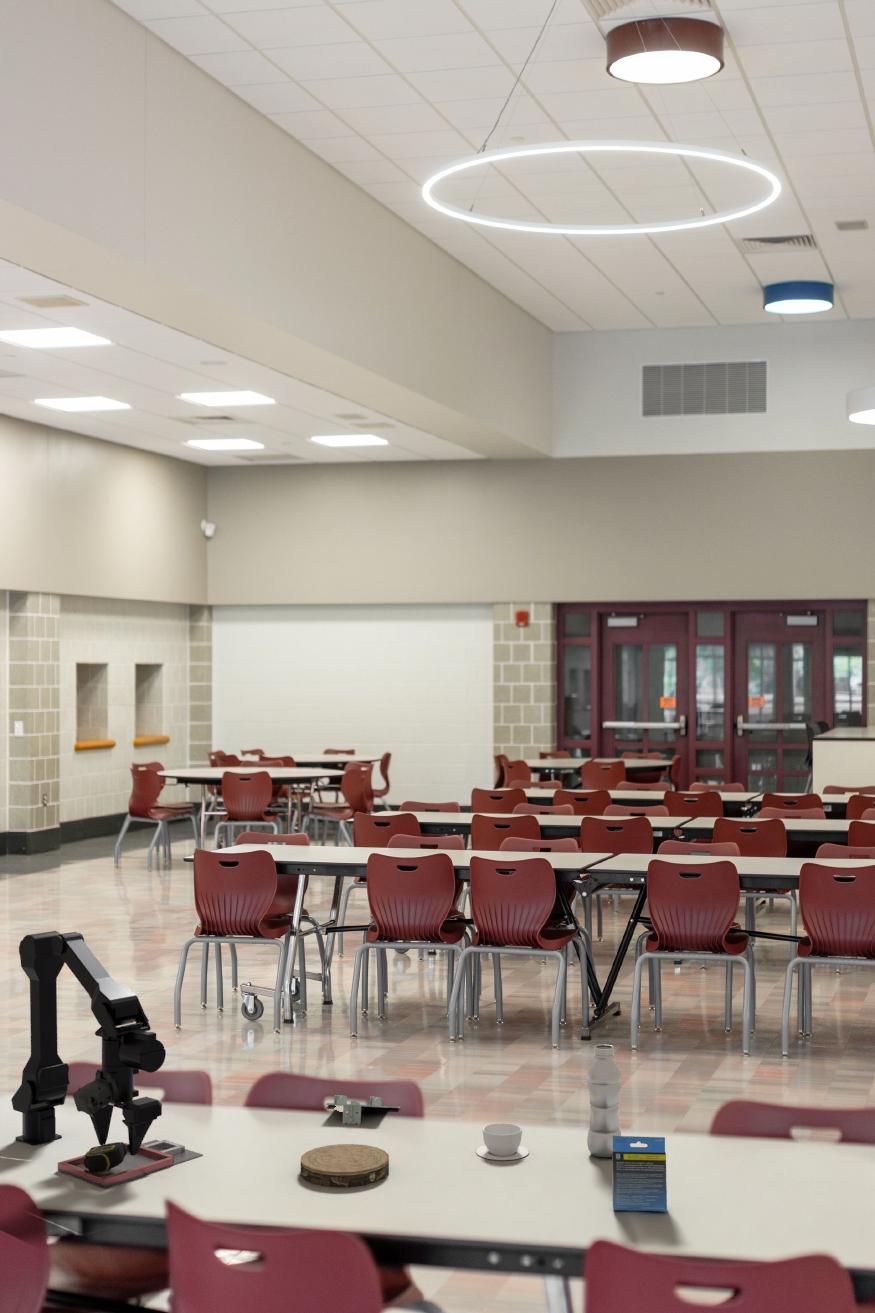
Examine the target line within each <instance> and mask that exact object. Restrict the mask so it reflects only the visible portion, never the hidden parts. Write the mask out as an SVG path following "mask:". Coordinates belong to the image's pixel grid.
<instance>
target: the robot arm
mask: <svg viewBox="0 0 875 1313" xmlns="http://www.w3.org/2000/svg"><path fill="white" fill-rule="evenodd" d="M18 953H19V958H20V967H21V969H22V970H23V972H24V973H25V975H26V976H27V978H28V979H29V1006H30V1007H29V1011H30V1012H29V1013H30V1014H29V1015H30V1017H29V1018H30V1019H29V1020H30V1056H29V1058H28V1060H27V1061H26V1062H27V1063H26V1064H25V1066H24V1067H23V1070H22V1072H21V1073H22V1075H21V1084H20V1086H19V1087H18V1088H17V1091H16V1092H15V1093H14V1095H13V1096H12V1097H11V1099H10V1100H11V1105H12V1110H13V1111H15V1112H19V1113H21V1114H22V1116H21V1117H22V1118H21V1119H22V1123H21V1124H22V1126H21V1127H22V1132H21V1133H22V1134H21V1135H19V1136H15V1141H19V1142H20V1143H21V1142H22V1143H24V1144H27V1145H30V1146H33V1147H34V1146H35V1147H36V1146H39V1145H42V1144H46V1143H49V1142H52V1141H57V1140H59V1139H62V1138H63V1135H61V1134H57V1133H56V1129H57V1126H56V1124H57V1123H56V1120H57V1119H56V1107H58V1106H63V1105H64V1104H65V1101H66V1097H67V1092H68V1090H69V1085H70V1084H71V1082H70V1079H69V1070H70V1067H69V1064H68V1063H65V1062H64V1061H63V1060H62V1059H61V1057H60V1056H59V1054H58V1053H59V1052H58V1000H57V999H58V997H57V996H58V995H57V985H58V984H57V980H58V979H57V978H59V977H58V976H59V975H60V973H61V971H62V969H63V967H64V966H65V964H66V966H67V968H69V970H70V971H71V973H72V974H73V976H74V977H75V978H76V979H77V981H78V982H79V983H80V985H81V986H82V987H83V989H84V990H85V991H86V993H87V995H88V996H89V998H90V1000H91V1001H90V1010H91V1012H92V1014H93V1016H94V1017H95V1019H96V1022H97V1023H98V1024H99V1025H100V1027H98V1029H96V1030H95V1031H94V1034H95V1036H96V1037H101V1068H98V1069H96V1071H95V1077H94V1080H92V1081H91V1082H88V1083H86V1084H84V1085H83V1086H80V1087H78V1088H77V1090H76V1091H74V1092H73V1094H72V1098H73V1101H74V1105H75V1107H76V1111H77V1112H79V1113H80V1112H83V1113H85V1114H87V1115H88V1116H89V1118H90V1120H91V1122H92V1125H93V1128H94V1132H95V1134H96V1138H97V1140H98V1144H99V1146H101V1145H105V1144H107V1140H108V1136H109V1131H110V1127H111V1126H110V1125H111V1120H112V1115H113V1112H114V1108H119V1109H120V1110H122V1112H121V1114H122V1116H123V1118H124V1119H121V1122H122V1123H123V1124H124V1125H125V1126H126V1128H127V1132H128V1144H129V1148H130V1155H132V1156H133V1155H136V1154H137V1152H138V1150H139V1148H140V1146H141V1144H143V1142H144V1139H145V1136H146V1135H147V1133H148V1131H149V1129H150V1127H151V1126H152V1123H154V1121H155V1120H157V1119H158V1117H162V1115H163V1103H162V1102H161V1101H160V1100H158V1099H155V1098H152V1097H150V1096H149V1097H148V1096H144V1097H139V1095H140V1092H139V1090H137V1089H135V1075H138V1074H139V1073H140V1072H139V1071H141V1072H146V1073H151V1074H152V1073H155V1072H157V1071H158V1070H159V1069H161V1067H162V1066H163V1065H164V1062H165V1060H166V1049H165V1046H164V1044H163V1043H162V1042H161V1041H160V1040H158V1039H157V1033H156V1032H154V1031H151V1029H152V1028H151V1025H150V1023H149V1021H150V1020H149V1018H148V1016H147V1015H146V1013H145V1011H144V1009H143V1006H142V1004H141V1002H140V999H139V997H138V995H137V994H136V993H135V992H133V990H132V989H131V988H129V986H127V985H126V984H124V983H121V982H119V981H116V980H115V979H114V978H112V976H111V975H110V973H108V971H107V970H106V968H105V967H104V966H103V965H102V963H101V962H100V961H99V960H98V957H96V956H95V954H94V953H93V952H92V951H91V949H90V948H89V946H88V945H87V944H86V942H85V938H84V936H83V934H82V933H80V932H77V931H71V932H65V933H64V932H63V933H60V932H59V931H57V930H52V931H46V932H38V933H33V934H26V935H24V937H23V939H22V940H21V941H20V942H19V946H18ZM137 1097H139V1098H137ZM134 1098H136V1099H134Z"/></svg>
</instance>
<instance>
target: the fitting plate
mask: <svg viewBox="0 0 875 1313" xmlns="http://www.w3.org/2000/svg"><path fill="white" fill-rule="evenodd" d="M124 1143H125V1144H126V1147H127V1154H126V1156H125V1157H124V1160H123V1162H122V1163H121V1164H119V1165H118V1166H116V1167H114V1168H112V1169H111V1170H110V1171H106V1172H102V1173H101V1172H96V1173H94V1172H91V1171H89V1170H88V1169H87V1168H86V1167H85V1166H84V1159H85V1154H84V1155H80V1156H76V1157H74V1158H73V1157H72V1158H69V1159H67V1160H62V1161H59V1162H58V1161H57V1172H59V1173H62V1174H64V1175H66V1174H67V1176H69V1175H70V1177H72V1178H74V1179H77V1180H80V1181H82V1180H83V1181H82V1182H85V1181H86V1183H89V1184H90V1185H94V1186H96V1187H99V1188H102V1189H104V1190H105V1189H108V1188H110V1187H111V1188H112V1187H114V1186H117V1185H118V1186H119V1185H121V1184H124V1183H127V1182H131V1181H133V1180H137V1179H139V1178H143V1177H146V1176H149V1175H150V1174H151V1173H154V1172H157V1171H160V1170H164V1169H166V1168H169V1167H172V1166H176V1165H179V1164H181V1163H185V1162H188V1161H191V1160H193V1159H194V1160H195V1159H197V1158H200V1157H203V1156H204V1154H202V1153H200V1152H196V1151H193V1150H190V1149H187V1148H186V1146H185V1145H183V1144H180V1143H178V1142H173V1141H169V1140H166V1139H162V1140H158V1139H153V1140H149V1141H147V1142H144V1143H143V1142H142V1143H141V1146H140V1148H139V1150H138V1152H137V1154H136V1155H133V1156H132V1155H130V1148H129V1143H127V1142H124Z"/></svg>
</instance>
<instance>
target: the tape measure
mask: <svg viewBox="0 0 875 1313" xmlns="http://www.w3.org/2000/svg"><path fill="white" fill-rule="evenodd" d="M125 1143H126V1142H123V1141H121V1142H120V1141H119V1142H118V1141H117V1142H110V1143H106V1144H104V1145H98V1146H93V1147H91V1148H90V1149H89V1151H86V1153H85V1154H84V1155H85V1159H84V1166H85V1167H86V1168H87V1169H88V1170H89V1171H91V1172H94V1173H96V1172H101V1173H102V1172H106V1171H110V1170H111V1169H112V1168H114V1167H116V1166H118V1165H119V1164H121V1163H122V1162H123V1160H124V1157H125V1156H126V1154H127V1147H126V1144H125Z"/></svg>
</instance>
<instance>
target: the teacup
mask: <svg viewBox="0 0 875 1313" xmlns="http://www.w3.org/2000/svg"><path fill="white" fill-rule="evenodd" d="M481 1130H482V1137H483V1141H484V1142H483V1144H484V1145H481V1146H479V1147H477V1148H476V1149H475V1154H476V1155H477V1156H479V1157H481V1158H484V1159H487V1160H488V1159H489V1160H494V1161H512V1160H519V1159H522V1158H524V1157H526V1156H528V1155H529V1153H530V1150H529V1149H528V1148H527V1147H525V1146H522V1145H521V1141H522V1137H523V1136H522V1135H523V1129H522V1126H520V1125H518V1124H513V1123H507V1122H506V1123H505V1122H498V1123H489V1124H487V1125H484V1127H482V1129H481ZM516 1151H517V1152H516ZM489 1152H490V1153H489Z"/></svg>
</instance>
